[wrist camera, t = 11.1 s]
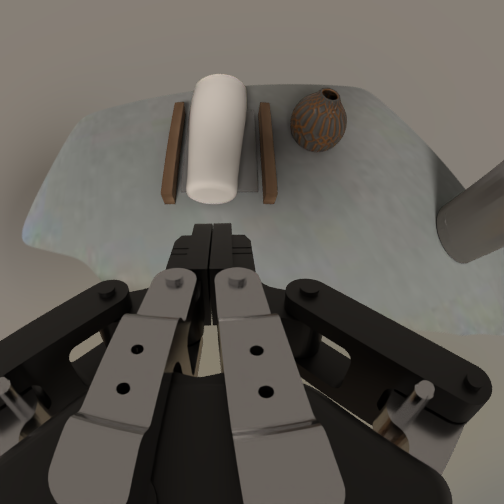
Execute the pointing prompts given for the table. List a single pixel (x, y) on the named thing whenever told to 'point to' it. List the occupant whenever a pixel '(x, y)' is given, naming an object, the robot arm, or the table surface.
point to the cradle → (247, 159)
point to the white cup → (215, 138)
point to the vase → (319, 121)
